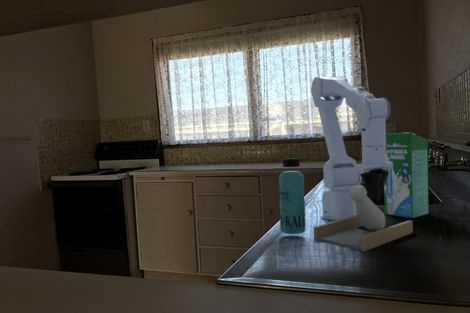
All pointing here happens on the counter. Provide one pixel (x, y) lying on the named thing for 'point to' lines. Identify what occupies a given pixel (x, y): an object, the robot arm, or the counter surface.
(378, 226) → the salt shaker
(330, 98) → the robot arm
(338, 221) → the tan u-shaped piece
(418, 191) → the milk carton
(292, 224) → the beverage bottle
